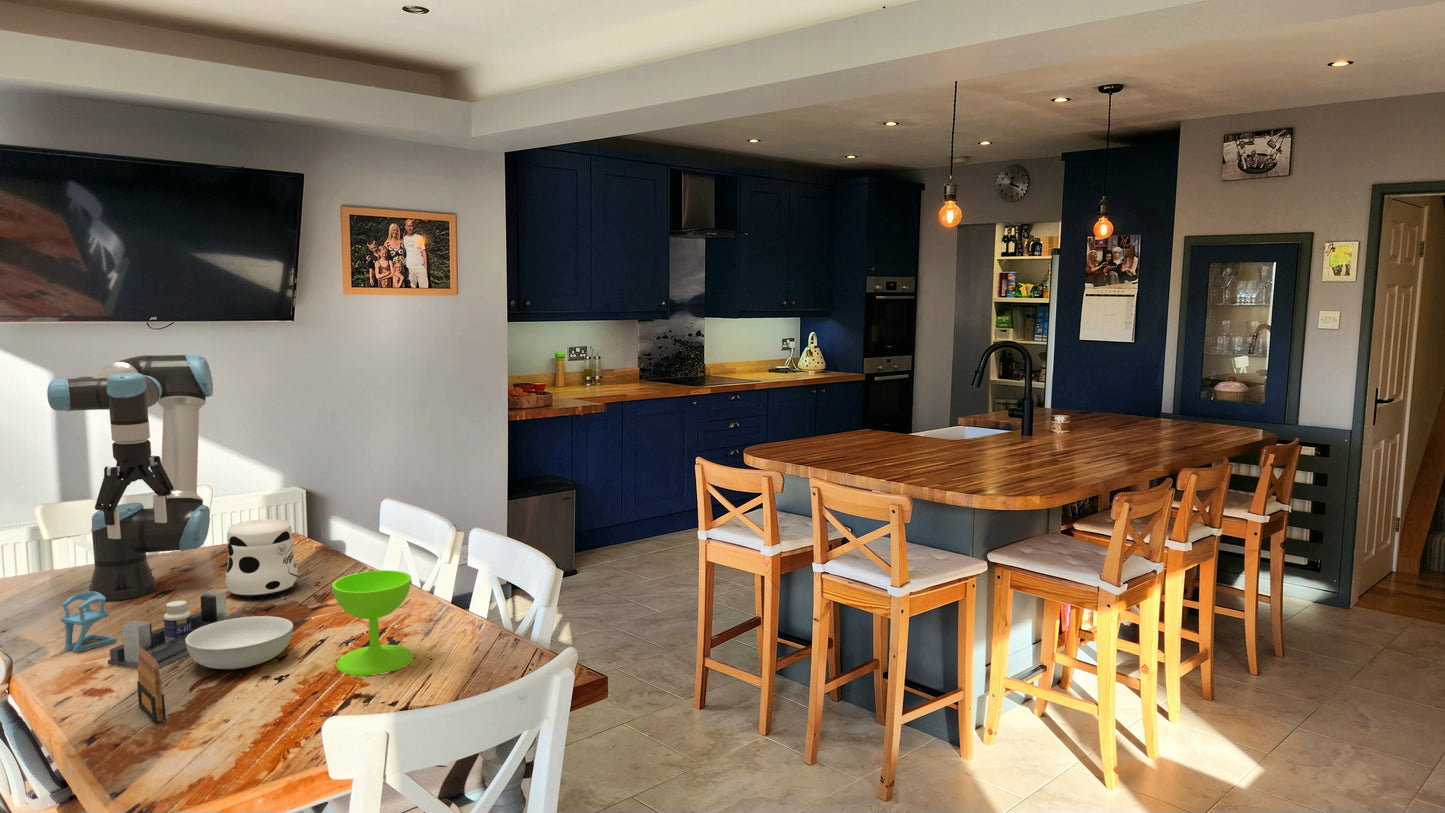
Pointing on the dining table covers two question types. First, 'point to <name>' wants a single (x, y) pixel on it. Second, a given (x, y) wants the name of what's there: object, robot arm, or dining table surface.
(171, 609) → the pill bottle
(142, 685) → the ammunition clip
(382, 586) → the wineglass
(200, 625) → the rail
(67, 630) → the chair
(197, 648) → the serving bowl
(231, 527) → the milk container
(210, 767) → the dining table surface
